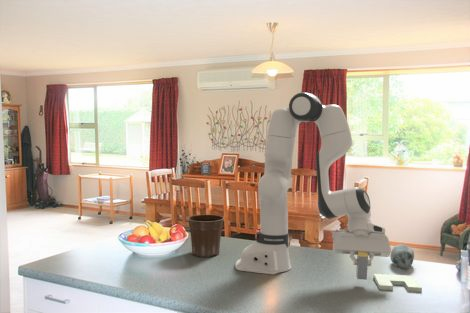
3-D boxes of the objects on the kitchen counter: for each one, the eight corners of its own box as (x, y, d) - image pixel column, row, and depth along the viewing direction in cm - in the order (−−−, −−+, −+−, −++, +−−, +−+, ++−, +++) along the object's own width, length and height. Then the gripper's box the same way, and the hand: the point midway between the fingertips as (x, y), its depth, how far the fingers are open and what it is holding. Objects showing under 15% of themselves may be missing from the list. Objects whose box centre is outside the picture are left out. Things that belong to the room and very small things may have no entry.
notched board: (379, 289, 150) (379, 285, 150) (373, 277, 162) (373, 273, 162) (421, 291, 148) (421, 287, 148) (412, 279, 160) (412, 275, 160)
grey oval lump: (418, 264, 167) (407, 240, 170) (395, 273, 170) (384, 249, 173) (420, 263, 179) (409, 240, 183) (398, 271, 182) (387, 248, 186)
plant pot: (187, 248, 199) (187, 214, 198) (222, 247, 201) (222, 213, 200) (187, 259, 183) (187, 221, 182) (225, 258, 185) (225, 221, 184)
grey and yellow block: (357, 279, 152) (358, 254, 152) (356, 275, 156) (357, 251, 155) (366, 279, 152) (368, 254, 151) (365, 276, 155) (366, 252, 155)
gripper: (332, 224, 161) (333, 258, 152) (389, 228, 158) (393, 263, 149) (331, 233, 166) (331, 266, 157) (386, 237, 163) (390, 271, 154)
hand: (362, 264), depth 153 cm, fingers closed on grey and yellow block, 3 cm apart
